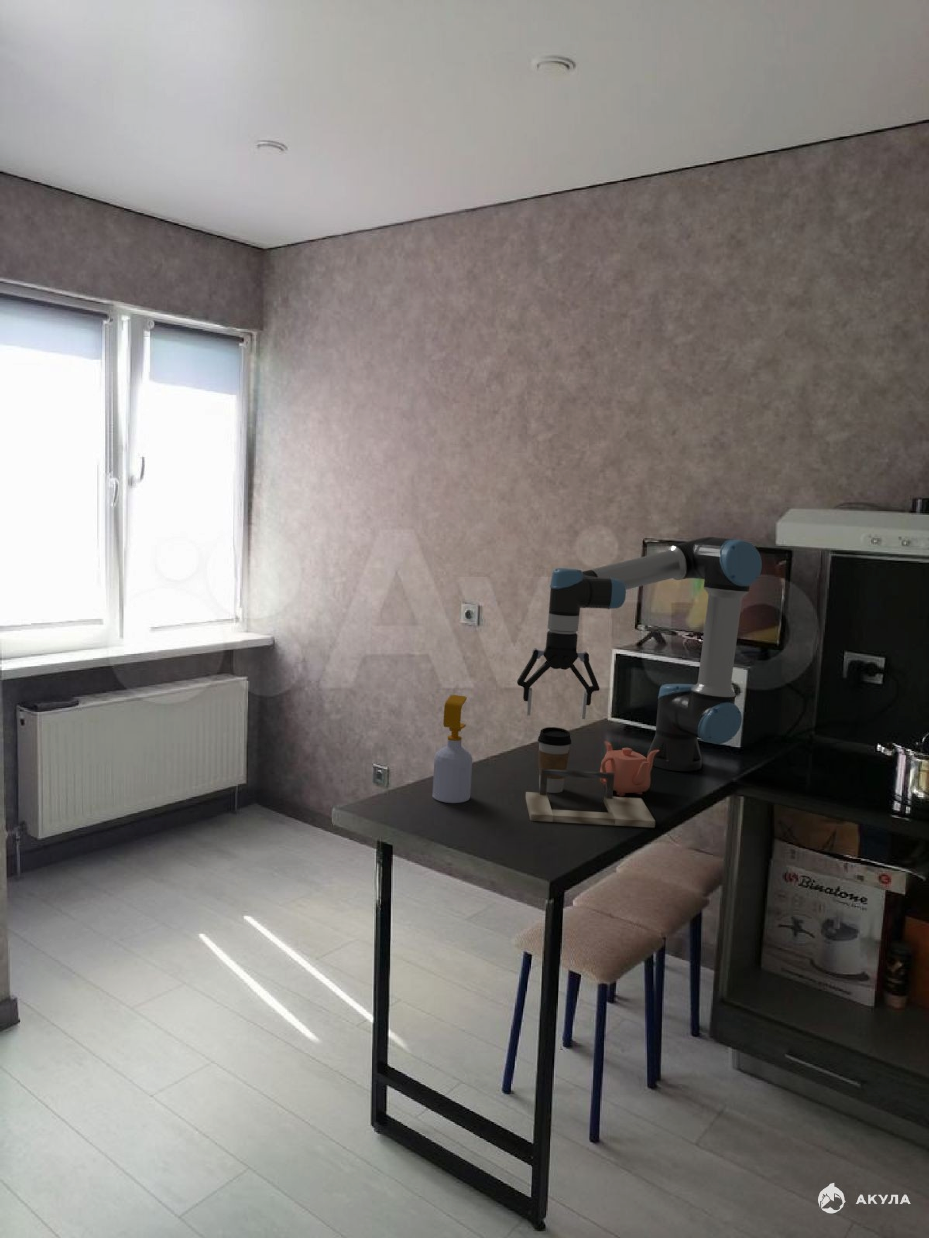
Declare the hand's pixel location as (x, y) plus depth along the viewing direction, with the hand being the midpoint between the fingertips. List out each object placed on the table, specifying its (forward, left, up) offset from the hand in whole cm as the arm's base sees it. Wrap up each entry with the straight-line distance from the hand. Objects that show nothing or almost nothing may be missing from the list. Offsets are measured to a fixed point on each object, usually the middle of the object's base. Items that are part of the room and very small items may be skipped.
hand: (555, 716), depth 226 cm
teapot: (-20, -3, -19) cm, 28 cm away
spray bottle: (+25, +11, -19) cm, 33 cm away
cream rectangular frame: (-7, +16, -19) cm, 26 cm away
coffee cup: (0, 0, -19) cm, 19 cm away
